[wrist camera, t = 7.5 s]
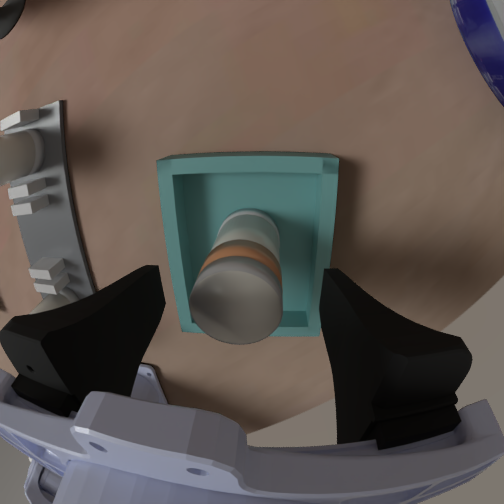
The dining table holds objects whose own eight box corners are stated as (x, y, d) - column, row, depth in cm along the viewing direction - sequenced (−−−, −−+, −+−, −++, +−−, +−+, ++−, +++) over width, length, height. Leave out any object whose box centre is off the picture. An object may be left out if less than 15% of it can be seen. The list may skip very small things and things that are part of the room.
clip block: (109, 331, 22) (98, 349, 20) (55, 320, 22) (43, 335, 20) (62, 100, 14) (39, 101, 11) (7, 124, 14) (-14, 128, 12)
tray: (315, 315, 19) (319, 336, 17) (189, 311, 20) (182, 331, 18) (330, 153, 15) (338, 158, 13) (170, 155, 15) (156, 160, 13)
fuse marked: (279, 263, 17) (281, 345, 11) (221, 263, 17) (195, 342, 11) (280, 207, 16) (285, 269, 9) (217, 207, 16) (182, 267, 10)
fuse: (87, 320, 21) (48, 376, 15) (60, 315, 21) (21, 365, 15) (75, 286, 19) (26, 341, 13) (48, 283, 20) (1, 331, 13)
